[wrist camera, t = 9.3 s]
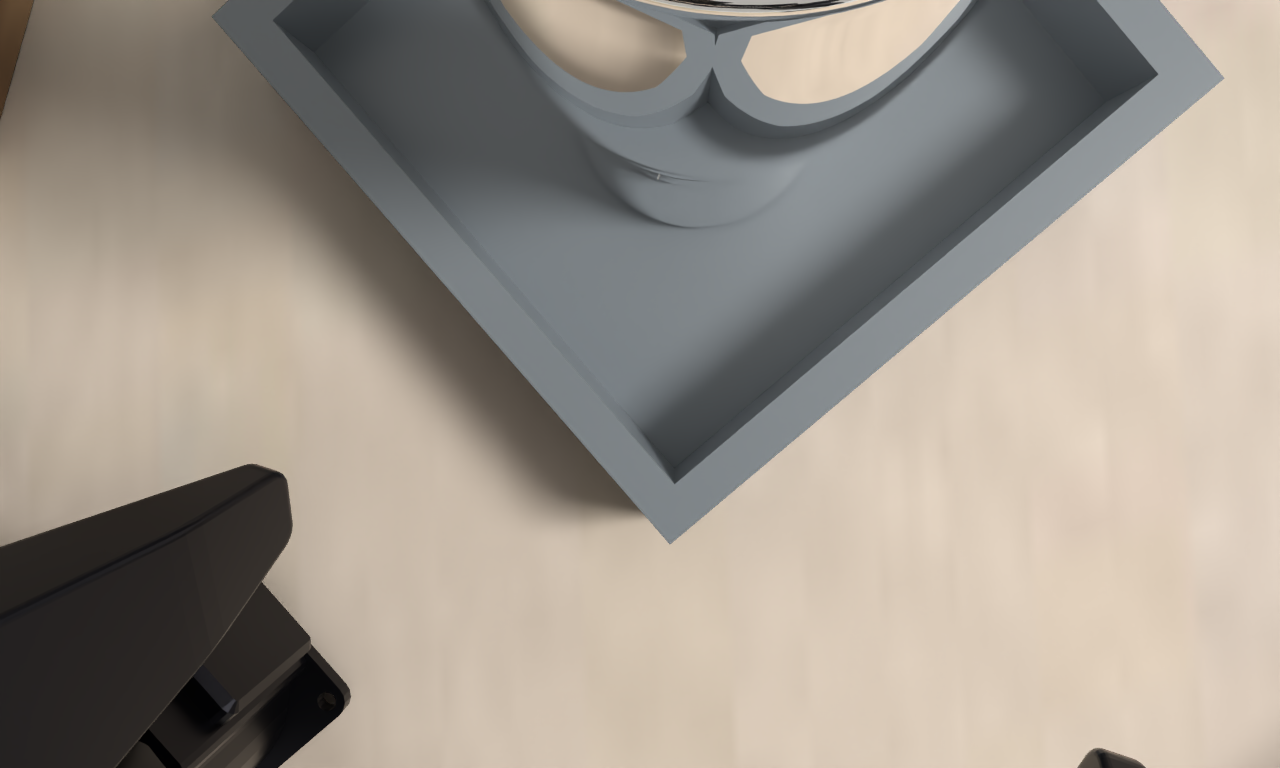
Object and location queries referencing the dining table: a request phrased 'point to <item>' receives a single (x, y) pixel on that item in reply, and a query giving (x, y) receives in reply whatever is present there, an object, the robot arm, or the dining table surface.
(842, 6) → the silver metal cup
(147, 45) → the dining table surface
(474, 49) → the tray
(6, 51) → the scraper paddle
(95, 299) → the dining table surface
